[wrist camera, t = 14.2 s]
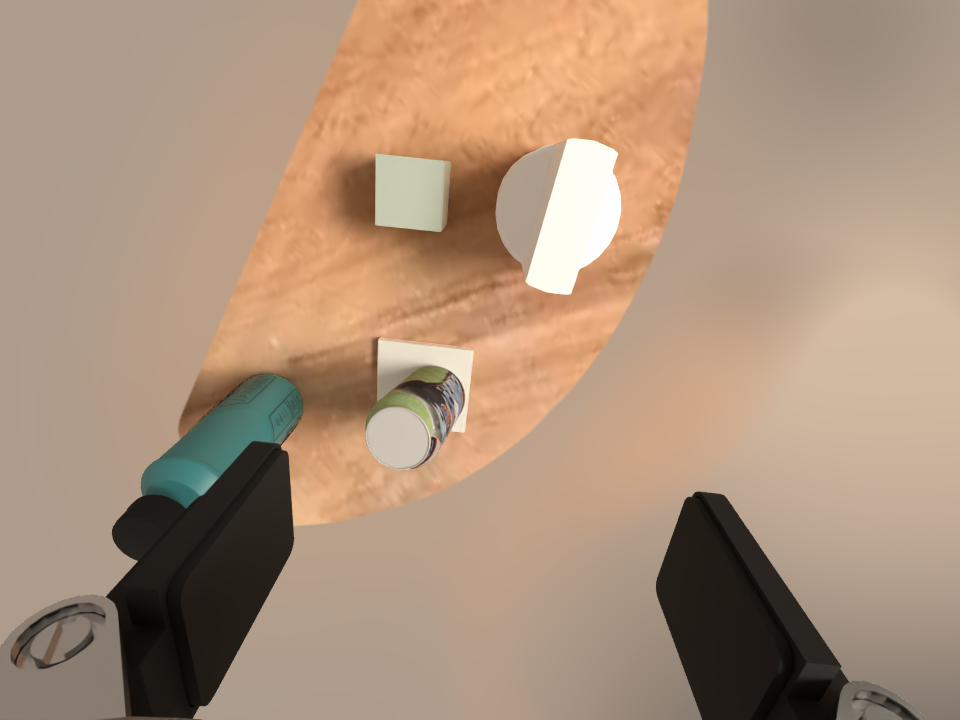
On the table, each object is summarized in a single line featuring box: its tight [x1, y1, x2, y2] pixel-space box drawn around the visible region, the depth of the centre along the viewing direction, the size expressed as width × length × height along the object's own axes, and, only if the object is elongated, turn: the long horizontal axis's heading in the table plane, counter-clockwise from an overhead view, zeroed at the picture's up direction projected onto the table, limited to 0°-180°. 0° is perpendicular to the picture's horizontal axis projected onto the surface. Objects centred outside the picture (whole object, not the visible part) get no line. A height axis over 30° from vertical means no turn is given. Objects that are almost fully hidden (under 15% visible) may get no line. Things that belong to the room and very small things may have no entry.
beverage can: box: [366, 366, 465, 470], centre depth 39 cm, size 6×7×12 cm
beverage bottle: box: [112, 374, 303, 561], centre depth 37 cm, size 6×7×20 cm
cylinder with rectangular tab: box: [495, 138, 621, 295], centre depth 33 cm, size 9×9×12 cm
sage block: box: [375, 154, 451, 232], centre depth 36 cm, size 5×5×5 cm
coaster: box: [377, 337, 474, 433], centre depth 45 cm, size 9×9×1 cm
